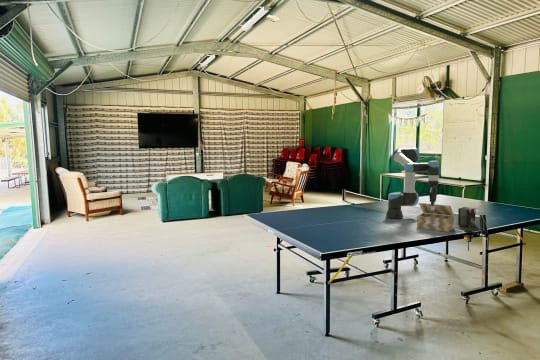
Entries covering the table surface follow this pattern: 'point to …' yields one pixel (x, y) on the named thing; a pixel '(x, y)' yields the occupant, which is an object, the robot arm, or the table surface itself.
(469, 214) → the tampon box
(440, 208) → the flap
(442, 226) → the open wooden box
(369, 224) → the table surface
